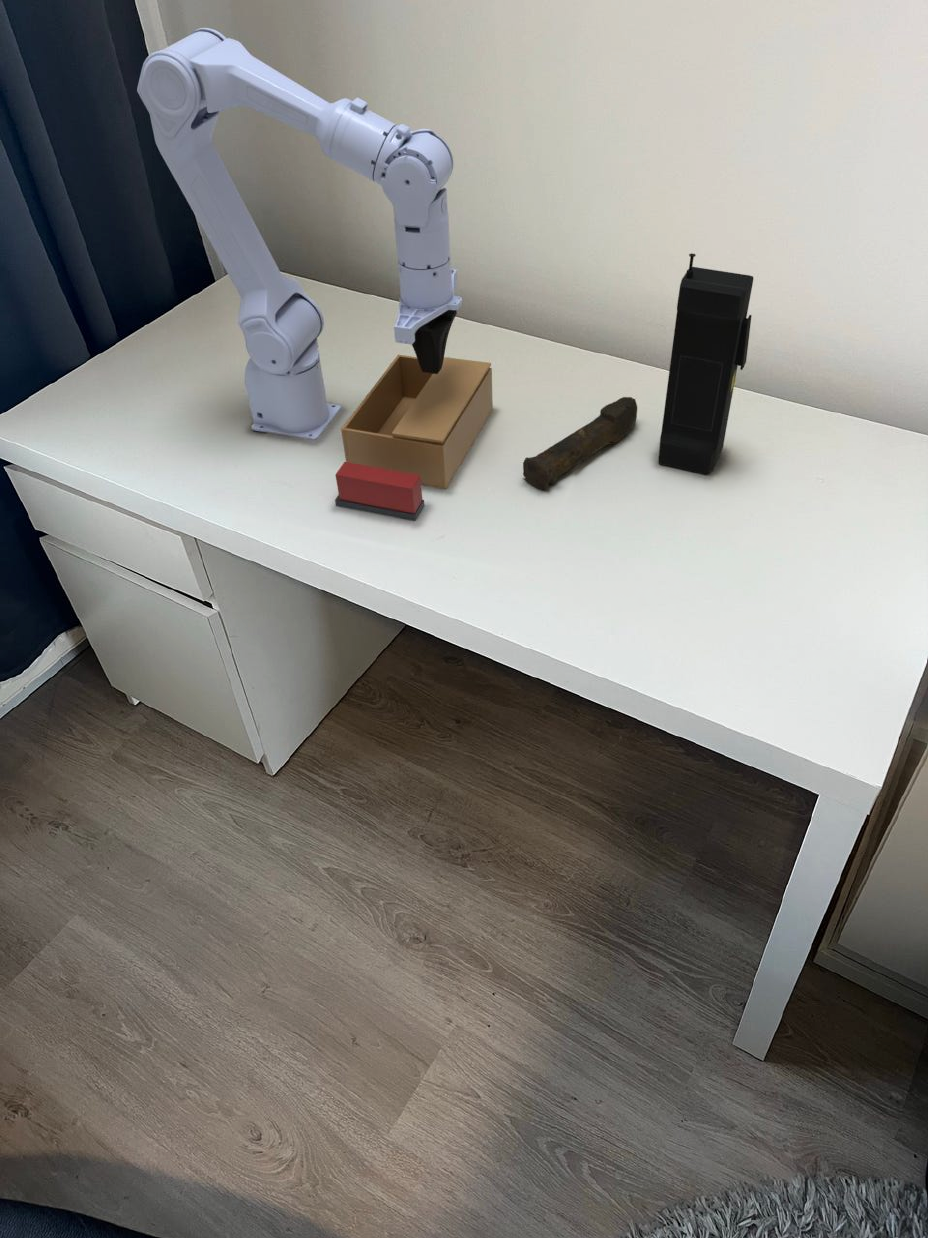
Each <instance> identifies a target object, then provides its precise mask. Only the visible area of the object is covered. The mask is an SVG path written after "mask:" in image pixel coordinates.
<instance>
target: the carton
mask: <svg viewBox="0 0 928 1238" xmlns="http://www.w3.org/2000/svg"><path fill="white" fill-rule="evenodd" d="M432 374H433V373H426V372H422V370H421V367H420V365H419V362H418V359H417V356H411V355H405V354H397V355H396V356H395V358H394V359H393V361H392V362H391V363H390V365H389V366H388V367H387V368H386V370H385V371H384V372H383V373H382V374H381V376H380V377H379V379H378V380H377V382H375V384H374V385H373V387H372V388H371V389H370V391H369V392H368V393H367V394H366V396H365V397H364V398H363V400H362V401H361V403H360V404H359V405H358V406H357V407H356V409H355V410H354V412H353V413H352V414H351V415H350V417H349V418H348V419H347V420H346V422H345V423H344V424H343V426H342V427H341V428H340V432H341V436H342V437H341V438H342V445H343V450H344V451H343V452H344V457H345V462H349V463H354V464H360V465H365V466H371V467H376V468H382V469H387V470H393V471H399V472H404V473H410V474H415V475H420V478H421V486H425V487H431V488H436V489H442V490H447V488H449V485H450V484H451V482H452V480H453V478H454V477H455V475H456V473H457V472H458V470H459V468H460V466H461V465H462V464H463V461H464V460H465V458H466V456H467V455H468V453H469V451H470V450H471V447H472V446H473V444H474V443H475V442H476V441H475V440H476V439H477V437H478V435H479V434H480V433H481V430H482V429H483V427H484V425H485V424H486V422H487V420H488V418H489V416H490V415H491V413H492V411H493V410H494V409H493V408H494V407H493V406H494V405H493V368H492V367H490V368H489V369H488V371H487V372H486V374H485V376H484V377H483V379H482V380H481V382H480V384H479V385H478V387H477V389H476V390H475V392H474V393H473V395H472V397H471V398H470V400H469V401H468V403H467V405H466V406H465V408H464V409H463V411H462V413H461V414H460V416H459V417H458V419H457V421H456V422H455V424H454V425H453V427H452V429H451V430H450V432H449V433H448V435H447V437H446V438H445V440H444V441H443V443H438V442H432V441H425V440H418V439H411V438H405V437H398V436H392V432H393V431H394V429H395V428H396V426H397V425H398V423H399V422H400V420H401V419H402V418H403V416H404V415H405V413H406V412H407V410H408V409H409V408H410V406H411V405H412V403H413V402H414V400H415V399H416V397H417V396H418V395H419V393H420V392H421V390H422V389H423V387H424V386H425V385H426V383H427V382H428V380H429V379H430V377H431V376H432Z"/></svg>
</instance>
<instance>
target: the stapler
mask: <svg viewBox="0 0 928 1238" xmlns="http://www.w3.org/2000/svg"><path fill="white" fill-rule="evenodd" d="M335 480H336V486H337V493H338V495H337V496H336V498H335V499H334V502H335V506H336V507H340V508H344V509H345V508H346V509H350V510H355V511H359V512H367V513H372V514H376V515H381V516H385V517H392V518H397V519H402V520H407V521H412V522H416V521H417V520H418V517H419V516H420V514H421V513H422V511H423V510H424V507H425V500H424V499H423V491H422V485H421V478H420V475H415V474H410V473H404V472H399V471H393V470H387V469H382V468H376V467H371V466H365V465H360V464H354V463H349V462H346V461H344V462H343V463H342V464H341V466H340V467H339V469H338V470H337V472H336V473H335Z"/></svg>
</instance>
